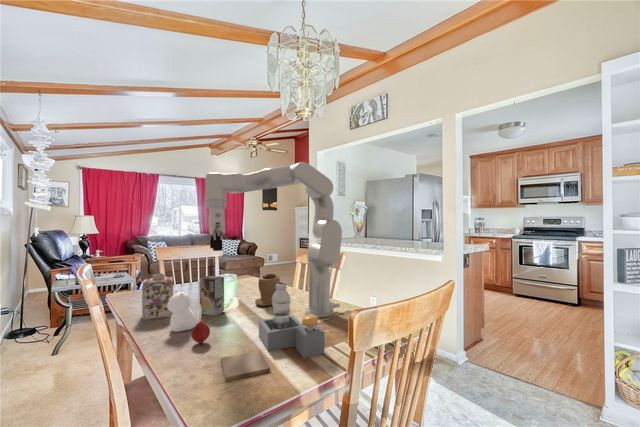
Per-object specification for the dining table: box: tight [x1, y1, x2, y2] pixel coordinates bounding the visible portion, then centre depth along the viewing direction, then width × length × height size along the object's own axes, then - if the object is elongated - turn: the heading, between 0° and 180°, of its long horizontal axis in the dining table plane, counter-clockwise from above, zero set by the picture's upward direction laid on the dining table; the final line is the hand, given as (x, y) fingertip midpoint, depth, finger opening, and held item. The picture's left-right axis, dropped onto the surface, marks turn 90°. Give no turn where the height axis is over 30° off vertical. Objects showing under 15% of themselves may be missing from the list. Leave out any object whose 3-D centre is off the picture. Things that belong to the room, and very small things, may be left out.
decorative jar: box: [141, 272, 174, 321], centre depth 132 cm, size 12×12×18 cm
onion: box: [191, 319, 211, 345], centre depth 102 cm, size 6×6×8 cm
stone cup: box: [254, 272, 281, 307], centre depth 148 cm, size 15×12×15 cm
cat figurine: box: [167, 289, 203, 333], centre depth 116 cm, size 9×12×15 cm
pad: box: [220, 350, 271, 382], centre depth 87 cm, size 12×12×1 cm
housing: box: [258, 314, 325, 359], centre depth 101 cm, size 16×22×7 cm
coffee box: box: [199, 275, 225, 317], centre depth 135 cm, size 9×6×16 cm
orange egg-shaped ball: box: [301, 314, 319, 332], centre depth 96 cm, size 5×5×6 cm
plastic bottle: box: [271, 281, 291, 330], centre depth 105 cm, size 6×7×20 cm
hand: (216, 249), depth 115 cm, fingers open, 9 cm apart
